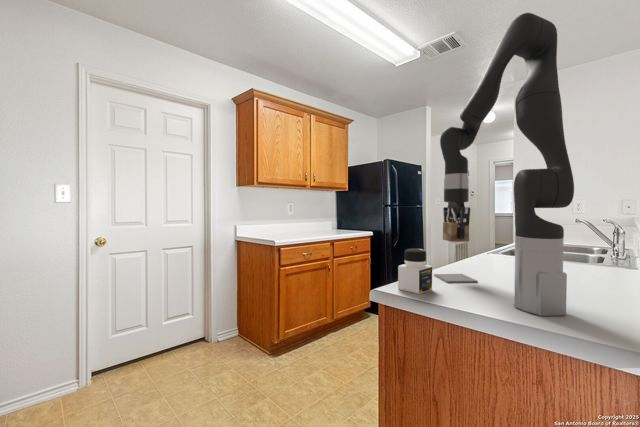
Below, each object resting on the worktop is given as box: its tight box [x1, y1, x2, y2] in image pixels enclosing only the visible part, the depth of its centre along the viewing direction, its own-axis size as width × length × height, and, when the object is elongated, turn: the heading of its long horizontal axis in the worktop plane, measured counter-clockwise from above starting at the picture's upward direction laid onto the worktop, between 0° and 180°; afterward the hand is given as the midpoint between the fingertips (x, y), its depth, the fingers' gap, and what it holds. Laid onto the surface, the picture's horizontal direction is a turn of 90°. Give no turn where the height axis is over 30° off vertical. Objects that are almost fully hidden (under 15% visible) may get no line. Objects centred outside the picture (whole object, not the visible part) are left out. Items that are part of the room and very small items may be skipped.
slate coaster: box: [433, 273, 479, 284], centre depth 101 cm, size 10×10×1 cm
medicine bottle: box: [397, 248, 433, 295], centre depth 88 cm, size 7×7×12 cm
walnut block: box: [442, 221, 470, 243], centre depth 100 cm, size 6×6×6 cm
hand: (455, 237), depth 100 cm, fingers closed on walnut block, 6 cm apart
